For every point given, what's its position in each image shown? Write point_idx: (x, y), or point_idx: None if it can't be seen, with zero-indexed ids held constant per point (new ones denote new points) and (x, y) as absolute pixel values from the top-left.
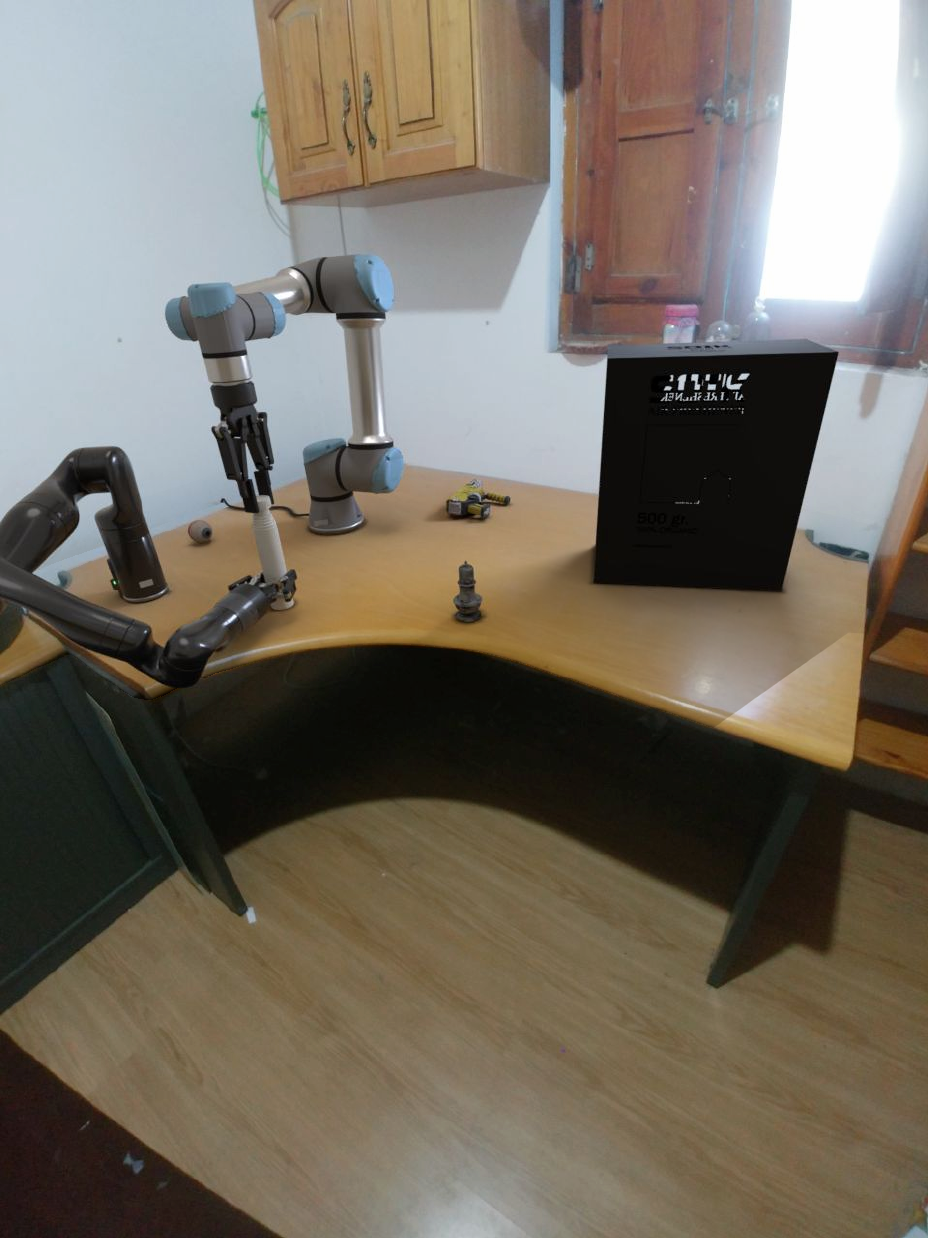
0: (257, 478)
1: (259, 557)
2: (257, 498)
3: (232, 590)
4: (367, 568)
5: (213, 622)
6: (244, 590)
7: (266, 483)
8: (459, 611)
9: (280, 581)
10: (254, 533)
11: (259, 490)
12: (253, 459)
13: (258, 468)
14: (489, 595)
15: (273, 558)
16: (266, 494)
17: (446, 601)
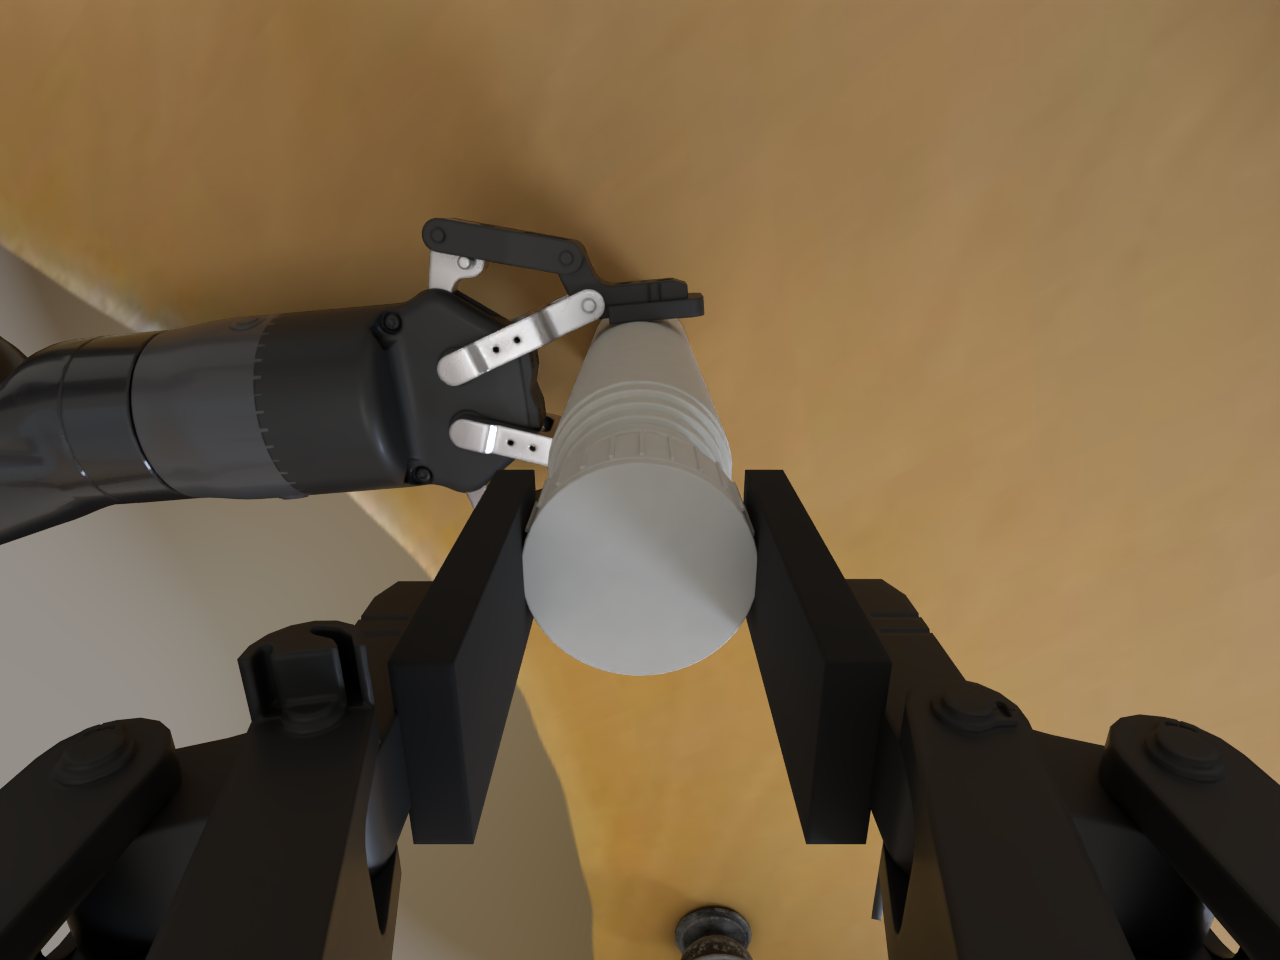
0: (795, 644)
1: (589, 360)
2: (644, 564)
3: (294, 381)
4: (1023, 528)
5: (36, 488)
6: (308, 453)
7: (775, 713)
8: (716, 921)
9: None
10: (561, 418)
11: (767, 549)
12: (927, 872)
13: (891, 753)
14: (845, 947)
15: None
16: (754, 605)
17: (787, 861)
